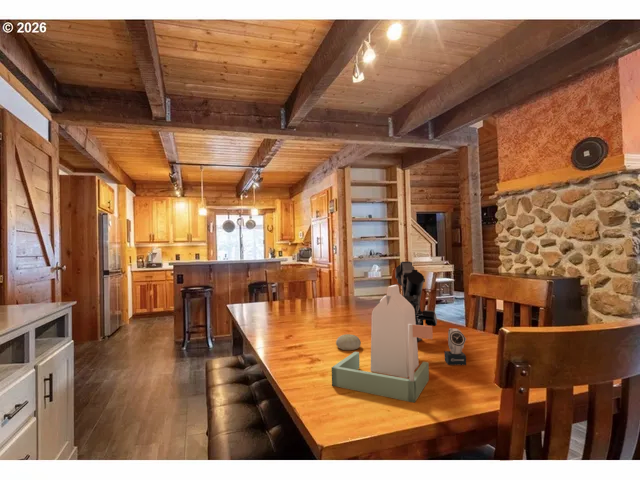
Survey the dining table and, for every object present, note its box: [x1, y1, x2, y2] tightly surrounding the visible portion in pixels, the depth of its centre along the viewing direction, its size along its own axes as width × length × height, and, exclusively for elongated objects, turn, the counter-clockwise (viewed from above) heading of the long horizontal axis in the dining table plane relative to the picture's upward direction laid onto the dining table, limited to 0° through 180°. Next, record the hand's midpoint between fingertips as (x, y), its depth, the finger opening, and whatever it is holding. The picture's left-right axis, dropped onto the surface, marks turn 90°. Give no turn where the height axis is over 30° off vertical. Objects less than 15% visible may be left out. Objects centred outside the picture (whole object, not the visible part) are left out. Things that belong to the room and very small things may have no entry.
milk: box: [370, 284, 420, 379], centre depth 109 cm, size 12×12×26 cm
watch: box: [444, 328, 467, 366], centre depth 113 cm, size 6×8×11 cm
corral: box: [331, 324, 434, 403], centre depth 97 cm, size 16×28×19 cm, turn 60°
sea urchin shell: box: [335, 333, 362, 351], centre depth 131 cm, size 9×8×8 cm
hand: (404, 336), depth 119 cm, fingers closed
